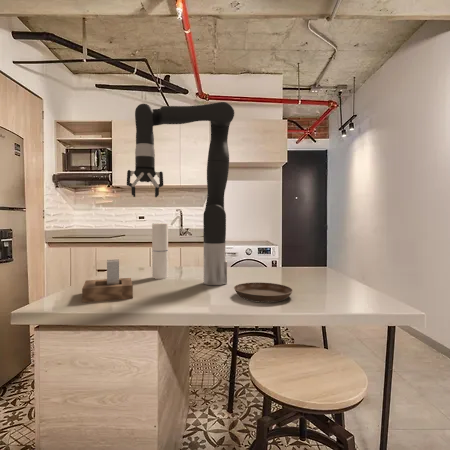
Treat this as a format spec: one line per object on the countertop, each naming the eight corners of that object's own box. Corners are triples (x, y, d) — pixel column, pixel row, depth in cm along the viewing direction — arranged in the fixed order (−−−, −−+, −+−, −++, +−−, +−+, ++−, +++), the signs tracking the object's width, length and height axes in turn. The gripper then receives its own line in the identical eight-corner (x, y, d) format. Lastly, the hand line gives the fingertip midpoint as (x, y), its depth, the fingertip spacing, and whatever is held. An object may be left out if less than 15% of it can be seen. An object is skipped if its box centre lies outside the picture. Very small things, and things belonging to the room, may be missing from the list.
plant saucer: (280, 289, 124) (280, 280, 124) (302, 303, 104) (302, 293, 104) (229, 291, 121) (229, 282, 121) (241, 306, 101) (241, 296, 100)
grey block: (118, 291, 117) (118, 259, 117) (119, 295, 112) (119, 261, 111) (98, 293, 115) (98, 260, 115) (97, 297, 109) (97, 262, 109)
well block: (130, 289, 123) (130, 277, 122) (132, 298, 109) (132, 285, 109) (85, 292, 117) (85, 280, 117) (82, 302, 104) (82, 288, 104)
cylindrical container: (149, 278, 144) (148, 223, 143) (158, 275, 151) (157, 223, 150) (162, 279, 141) (162, 223, 141) (171, 276, 148) (170, 223, 147)
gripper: (161, 159, 133) (161, 197, 133) (126, 157, 128) (126, 197, 128) (164, 156, 126) (164, 196, 126) (126, 153, 121) (127, 196, 121)
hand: (145, 197), depth 127 cm, fingers open, 8 cm apart
